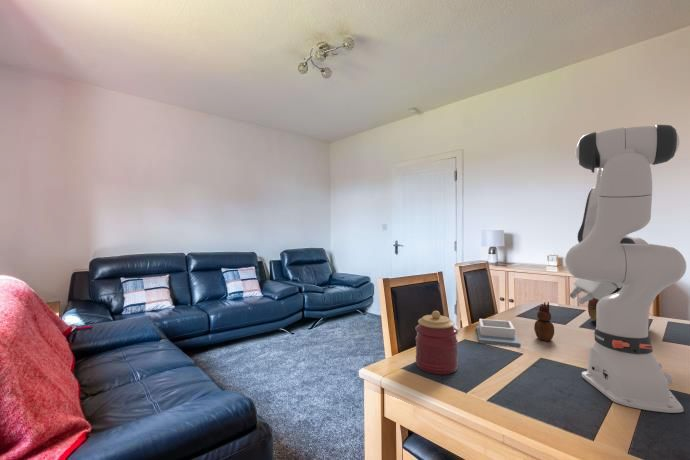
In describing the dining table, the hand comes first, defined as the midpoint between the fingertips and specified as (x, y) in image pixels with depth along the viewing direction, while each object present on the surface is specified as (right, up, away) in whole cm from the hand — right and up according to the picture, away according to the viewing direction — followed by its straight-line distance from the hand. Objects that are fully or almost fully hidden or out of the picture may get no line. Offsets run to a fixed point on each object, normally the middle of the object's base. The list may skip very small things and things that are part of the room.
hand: (574, 299), depth 122 cm
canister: (-57, -17, -19) cm, 63 cm away
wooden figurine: (-9, -16, +3) cm, 19 cm away
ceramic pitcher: (+33, -16, +20) cm, 42 cm away
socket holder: (-26, -16, +7) cm, 32 cm away
